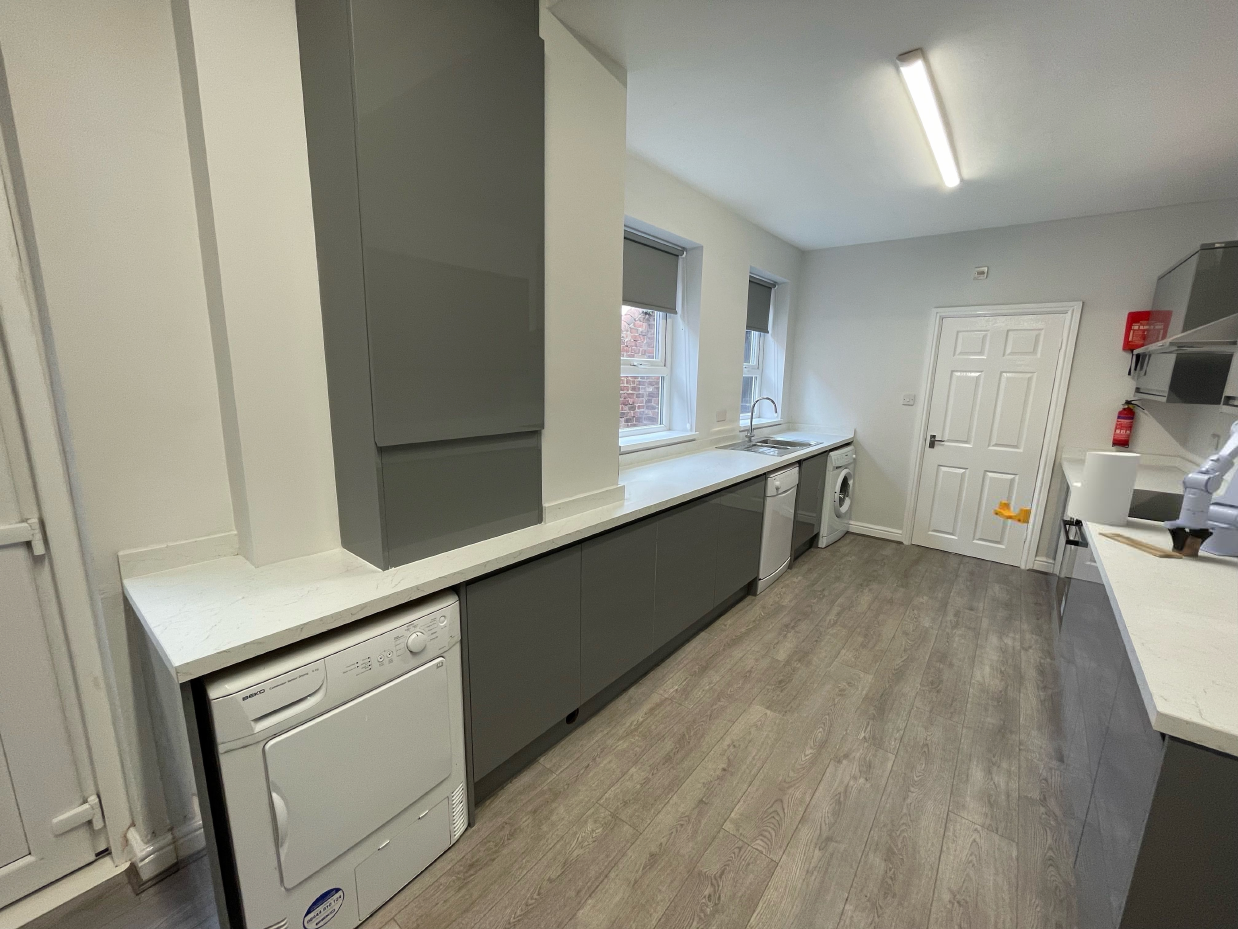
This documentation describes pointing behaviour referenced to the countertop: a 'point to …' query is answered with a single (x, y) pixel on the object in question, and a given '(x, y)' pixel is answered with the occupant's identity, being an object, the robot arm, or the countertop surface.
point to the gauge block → (1190, 547)
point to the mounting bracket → (1006, 513)
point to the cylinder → (1105, 488)
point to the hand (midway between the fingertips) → (1185, 550)
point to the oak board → (1142, 545)
